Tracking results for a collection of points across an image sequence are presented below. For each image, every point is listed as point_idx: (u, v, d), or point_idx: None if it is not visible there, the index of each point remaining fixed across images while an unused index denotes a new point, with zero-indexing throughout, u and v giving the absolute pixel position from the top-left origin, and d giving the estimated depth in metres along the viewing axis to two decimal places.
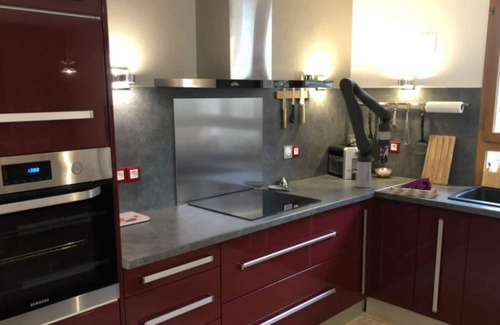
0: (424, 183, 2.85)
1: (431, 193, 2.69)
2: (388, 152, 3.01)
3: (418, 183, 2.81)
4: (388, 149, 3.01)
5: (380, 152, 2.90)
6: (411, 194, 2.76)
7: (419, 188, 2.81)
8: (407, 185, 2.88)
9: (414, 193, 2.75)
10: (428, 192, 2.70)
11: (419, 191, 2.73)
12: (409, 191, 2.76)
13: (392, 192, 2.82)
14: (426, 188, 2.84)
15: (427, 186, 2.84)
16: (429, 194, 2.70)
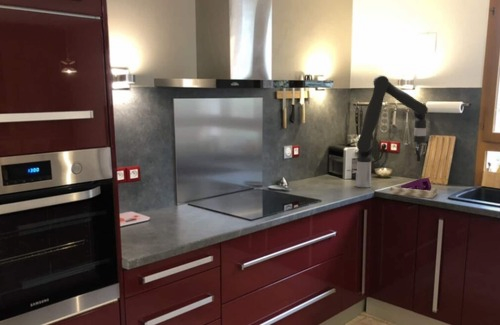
0: (424, 183, 2.86)
1: (431, 193, 2.69)
2: None
3: (418, 183, 2.81)
4: None
5: (417, 151, 2.92)
6: (411, 194, 2.76)
7: (419, 188, 2.81)
8: (407, 185, 2.89)
9: (414, 193, 2.75)
10: (428, 192, 2.70)
11: (419, 191, 2.73)
12: (409, 191, 2.76)
13: (392, 192, 2.82)
14: (426, 188, 2.85)
15: (427, 186, 2.84)
16: (429, 194, 2.70)
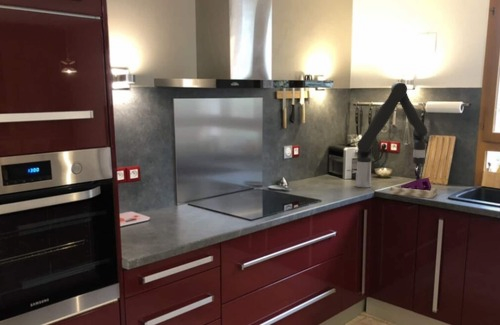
0: (424, 183, 2.86)
1: (431, 193, 2.69)
2: (421, 172, 3.00)
3: (418, 183, 2.81)
4: None
5: (416, 173, 2.94)
6: (411, 194, 2.76)
7: (419, 188, 2.81)
8: (407, 185, 2.89)
9: (414, 193, 2.75)
10: (428, 192, 2.70)
11: (419, 191, 2.73)
12: (409, 191, 2.76)
13: (392, 192, 2.82)
14: (426, 188, 2.85)
15: (427, 186, 2.84)
16: (429, 194, 2.70)
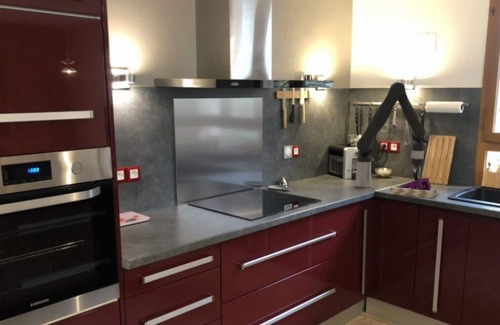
0: (423, 183, 2.85)
1: (431, 193, 2.69)
2: (419, 174, 2.96)
3: (417, 183, 2.81)
4: None
5: (414, 174, 2.90)
6: (411, 194, 2.76)
7: (419, 188, 2.80)
8: (406, 185, 2.88)
9: (414, 193, 2.75)
10: (428, 192, 2.70)
11: (419, 191, 2.73)
12: (409, 191, 2.76)
13: (392, 192, 2.82)
14: (425, 188, 2.84)
15: (426, 186, 2.84)
16: (429, 194, 2.70)
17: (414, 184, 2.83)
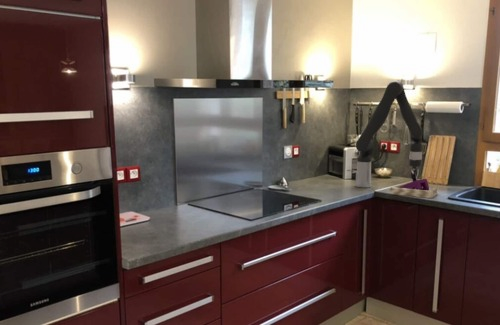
0: (422, 184, 2.82)
1: (431, 193, 2.69)
2: (417, 175, 2.91)
3: (416, 184, 2.78)
4: (418, 172, 2.91)
5: (412, 175, 2.84)
6: (411, 194, 2.76)
7: (417, 189, 2.78)
8: (404, 186, 2.85)
9: (414, 193, 2.75)
10: (428, 192, 2.70)
11: (419, 191, 2.73)
12: (409, 191, 2.76)
13: (392, 192, 2.82)
14: (424, 189, 2.81)
15: (424, 187, 2.81)
16: (429, 194, 2.70)
17: (412, 185, 2.80)
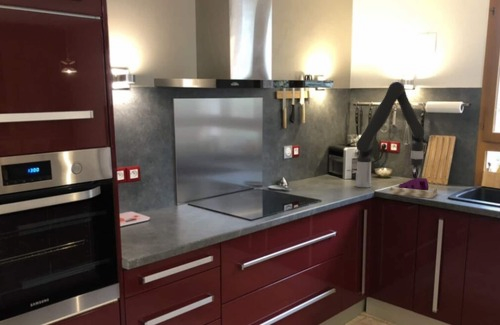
0: (421, 183, 2.82)
1: (431, 193, 2.69)
2: (419, 174, 2.94)
3: (414, 182, 2.78)
4: None
5: (413, 174, 2.87)
6: (411, 194, 2.76)
7: (415, 187, 2.77)
8: (404, 184, 2.85)
9: (414, 193, 2.75)
10: (428, 192, 2.70)
11: (419, 191, 2.73)
12: (409, 191, 2.76)
13: (392, 192, 2.82)
14: (423, 188, 2.81)
15: (424, 187, 2.80)
16: (429, 194, 2.70)
17: (411, 183, 2.80)
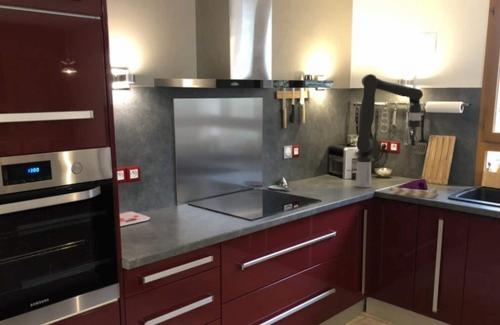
0: (420, 184, 2.81)
1: (431, 193, 2.69)
2: (416, 136, 3.00)
3: (413, 184, 2.78)
4: None
5: (411, 136, 2.94)
6: (411, 194, 2.76)
7: None
8: (403, 186, 2.85)
9: (414, 193, 2.75)
10: (428, 192, 2.70)
11: (419, 191, 2.73)
12: (409, 191, 2.76)
13: (392, 192, 2.82)
14: (422, 189, 2.80)
15: (423, 188, 2.80)
16: (429, 194, 2.70)
17: (410, 185, 2.80)
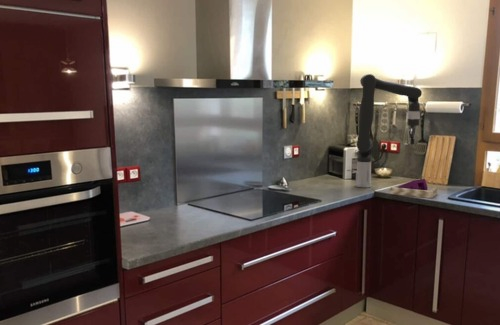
0: (420, 184, 2.82)
1: (431, 193, 2.69)
2: (415, 135, 3.01)
3: (413, 184, 2.78)
4: None
5: (410, 134, 2.95)
6: (411, 194, 2.76)
7: None
8: (403, 186, 2.85)
9: (414, 193, 2.75)
10: (428, 192, 2.70)
11: (419, 191, 2.73)
12: (409, 191, 2.76)
13: (392, 192, 2.82)
14: (422, 189, 2.80)
15: (423, 188, 2.80)
16: (429, 194, 2.70)
17: (410, 185, 2.80)
